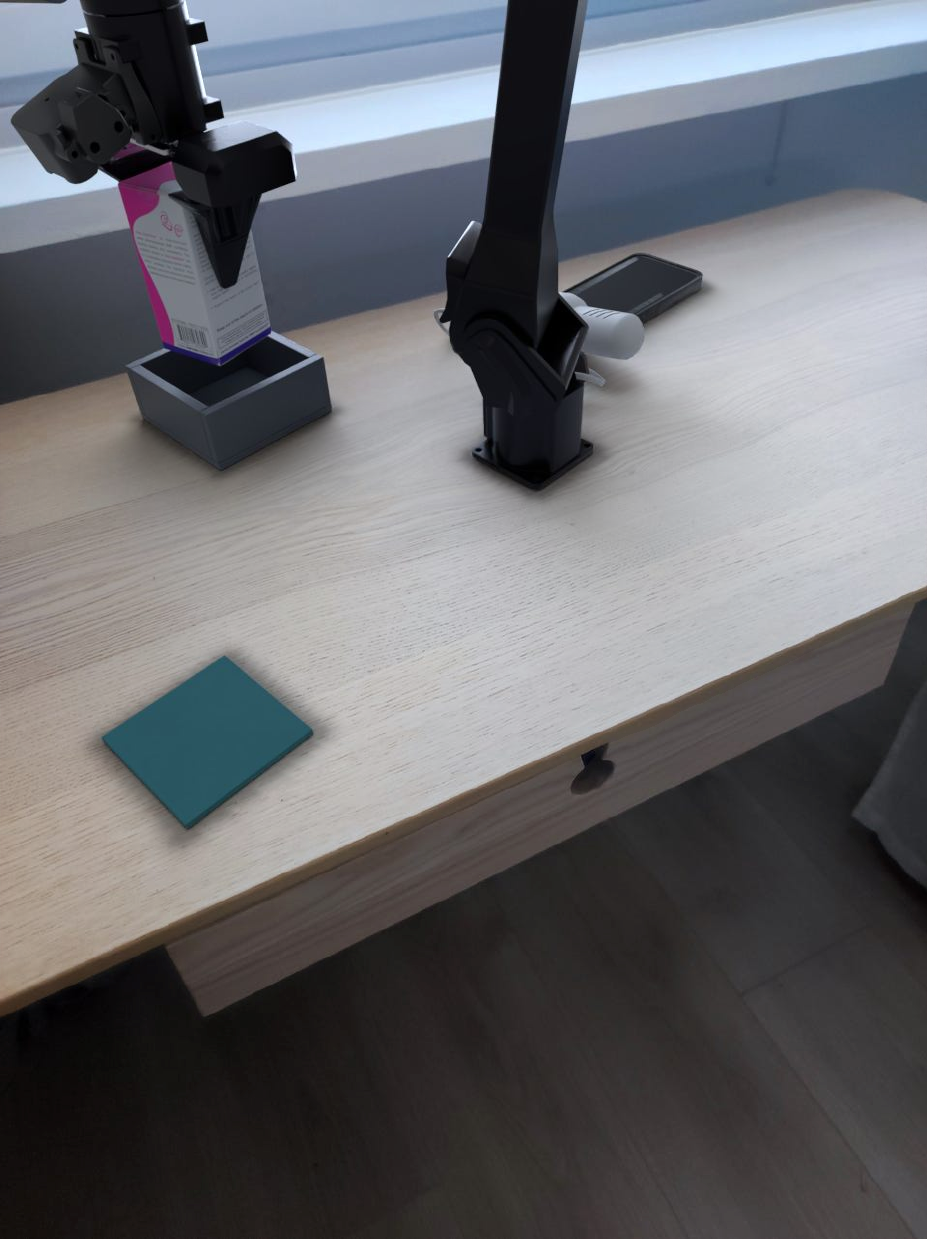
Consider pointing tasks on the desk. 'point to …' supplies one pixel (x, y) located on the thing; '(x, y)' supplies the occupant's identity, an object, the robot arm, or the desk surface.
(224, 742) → the counter mat
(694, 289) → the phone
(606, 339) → the clip-on lamp
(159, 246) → the supplement box
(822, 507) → the desk surface
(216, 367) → the grey open box
